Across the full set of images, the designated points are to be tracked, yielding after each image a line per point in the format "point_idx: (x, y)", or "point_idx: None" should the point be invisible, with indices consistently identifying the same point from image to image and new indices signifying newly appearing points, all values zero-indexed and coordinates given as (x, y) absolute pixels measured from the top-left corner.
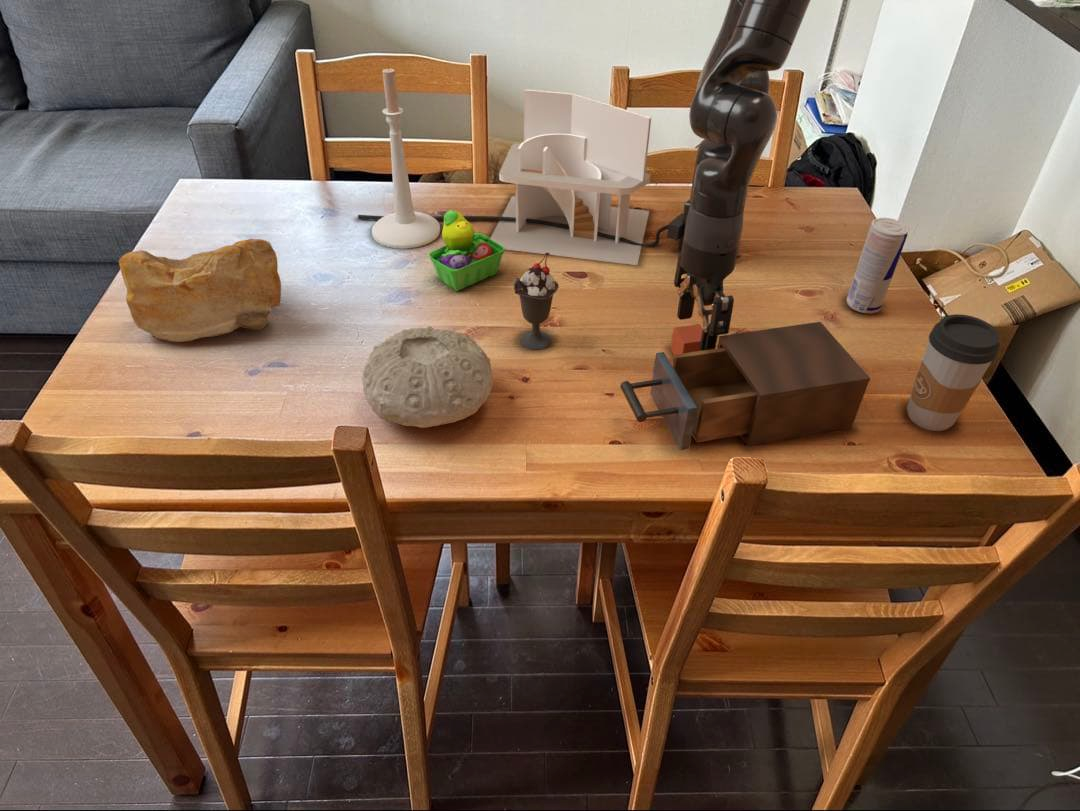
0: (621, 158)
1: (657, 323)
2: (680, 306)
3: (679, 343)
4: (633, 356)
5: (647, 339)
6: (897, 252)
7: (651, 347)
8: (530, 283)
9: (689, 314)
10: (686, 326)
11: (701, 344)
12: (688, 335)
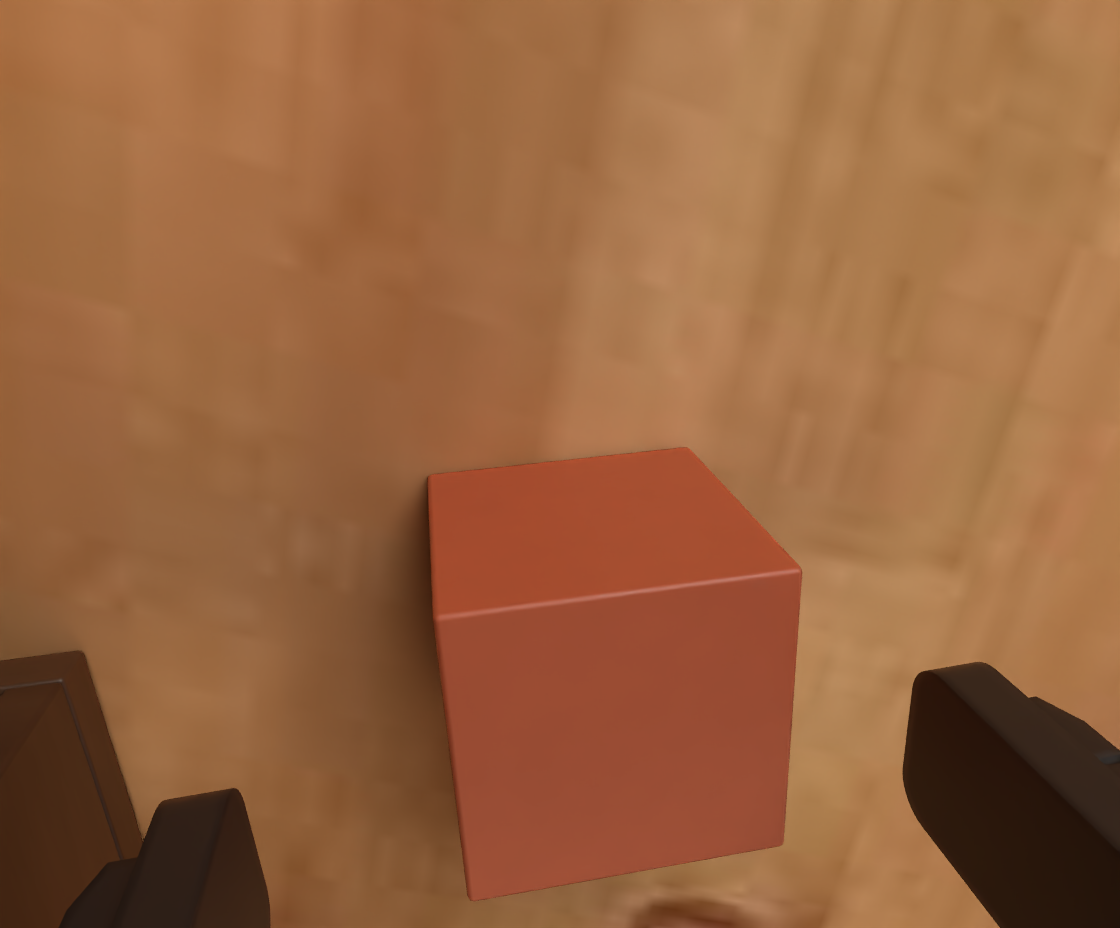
0: None
1: (1074, 429)
2: (1075, 810)
3: (553, 554)
4: (666, 13)
5: (894, 267)
6: None
7: (765, 271)
8: None
9: (939, 811)
10: (778, 712)
11: (152, 880)
12: (599, 700)
